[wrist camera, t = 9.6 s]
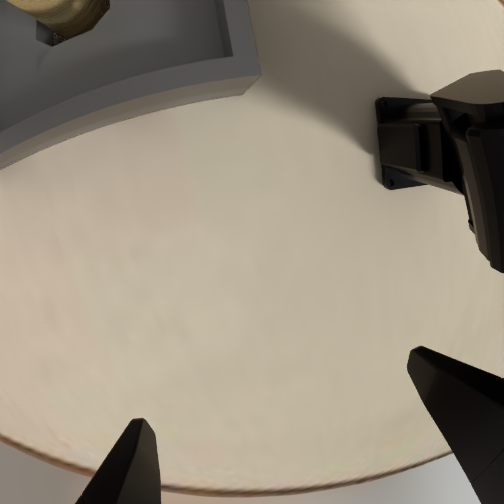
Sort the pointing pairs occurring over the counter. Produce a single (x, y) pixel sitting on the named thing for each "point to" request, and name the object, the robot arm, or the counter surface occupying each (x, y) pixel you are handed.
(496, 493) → the robot arm
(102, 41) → the tray
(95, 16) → the brass peg
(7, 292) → the counter surface
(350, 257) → the counter surface
